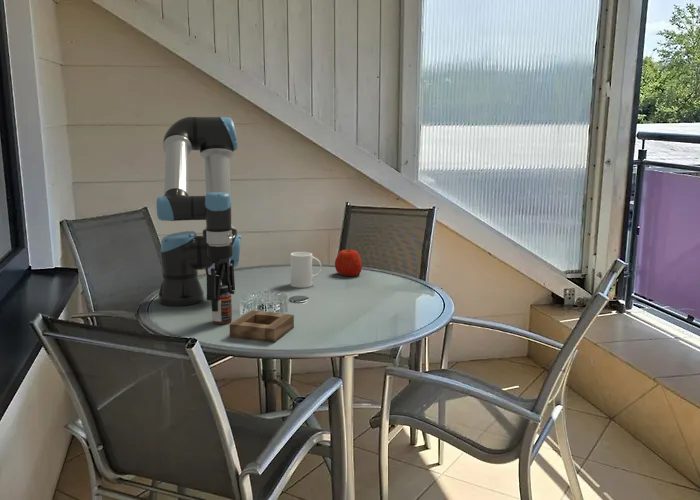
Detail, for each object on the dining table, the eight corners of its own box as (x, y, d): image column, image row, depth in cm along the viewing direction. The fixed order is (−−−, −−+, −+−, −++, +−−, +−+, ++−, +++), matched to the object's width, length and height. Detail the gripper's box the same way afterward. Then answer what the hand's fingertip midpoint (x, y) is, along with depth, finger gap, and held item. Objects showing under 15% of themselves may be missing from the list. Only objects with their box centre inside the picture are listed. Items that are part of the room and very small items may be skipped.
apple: (332, 277, 256) (332, 251, 254) (337, 271, 266) (337, 245, 264) (359, 278, 254) (359, 252, 252) (363, 272, 264) (364, 246, 262)
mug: (322, 282, 248) (322, 251, 246) (321, 288, 240) (320, 256, 237) (291, 282, 248) (291, 251, 246) (289, 287, 240) (288, 256, 237)
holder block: (229, 337, 186) (229, 324, 185) (251, 322, 199) (251, 310, 198) (274, 342, 181) (274, 329, 181) (293, 327, 195) (293, 314, 194)
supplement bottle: (222, 326, 195) (221, 290, 193) (208, 322, 199) (206, 287, 196) (236, 321, 200) (235, 285, 198) (221, 317, 204) (220, 283, 201)
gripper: (214, 250, 185) (217, 328, 189) (245, 239, 202) (247, 310, 207) (191, 249, 187) (195, 325, 192) (223, 237, 204) (226, 308, 209)
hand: (222, 317), depth 199 cm, fingers closed on supplement bottle, 6 cm apart
